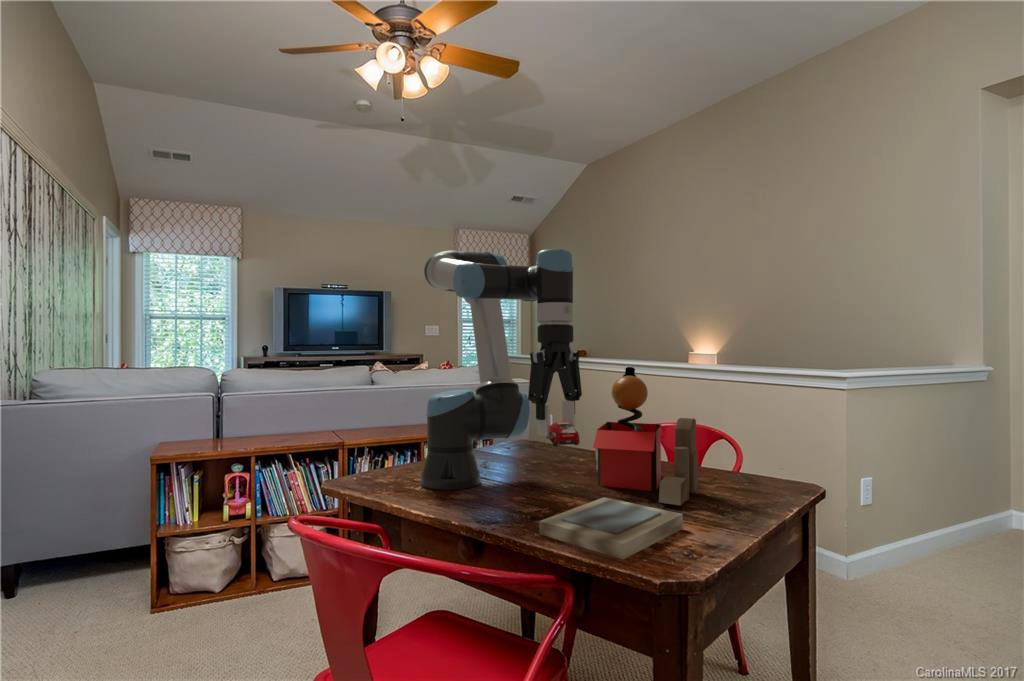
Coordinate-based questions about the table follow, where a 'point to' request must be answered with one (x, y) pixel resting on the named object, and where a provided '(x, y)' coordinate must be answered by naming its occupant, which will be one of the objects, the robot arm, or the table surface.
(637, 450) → the jack-in-the-box
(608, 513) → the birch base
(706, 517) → the table surface
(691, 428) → the wooden block set
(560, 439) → the race car
